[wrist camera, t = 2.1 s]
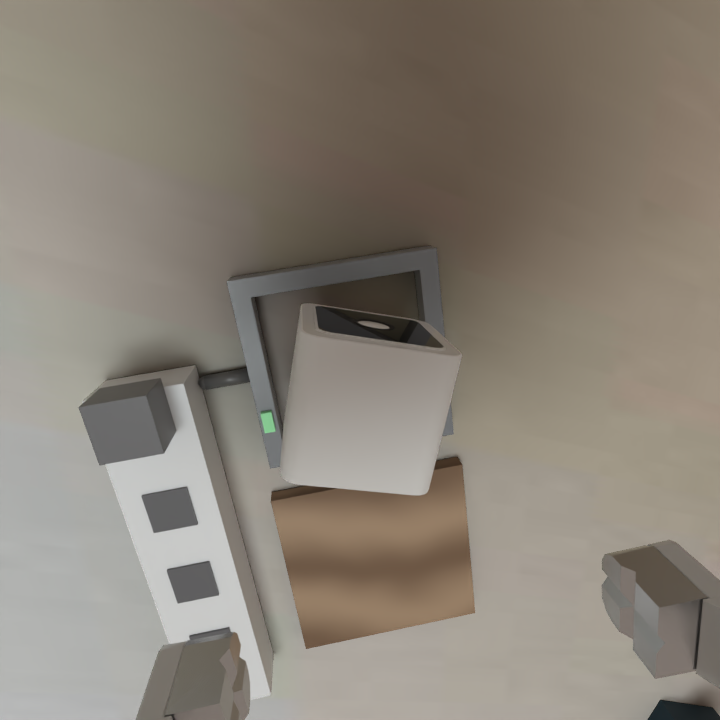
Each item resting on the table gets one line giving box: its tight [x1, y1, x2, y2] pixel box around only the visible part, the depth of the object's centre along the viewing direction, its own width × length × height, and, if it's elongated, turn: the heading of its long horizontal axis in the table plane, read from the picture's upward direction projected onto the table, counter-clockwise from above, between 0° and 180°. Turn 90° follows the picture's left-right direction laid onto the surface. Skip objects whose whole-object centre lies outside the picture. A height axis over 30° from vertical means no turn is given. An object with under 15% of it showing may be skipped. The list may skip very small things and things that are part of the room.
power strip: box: [79, 365, 274, 700], centre depth 28 cm, size 22×9×5 cm, turn 8°
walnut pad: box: [271, 457, 475, 649], centre depth 32 cm, size 12×12×1 cm
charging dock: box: [227, 246, 454, 468], centre depth 27 cm, size 11×11×2 cm
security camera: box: [280, 303, 462, 495], centre depth 23 cm, size 6×7×10 cm
